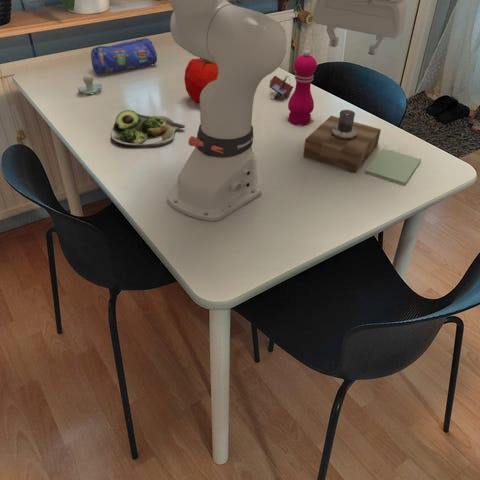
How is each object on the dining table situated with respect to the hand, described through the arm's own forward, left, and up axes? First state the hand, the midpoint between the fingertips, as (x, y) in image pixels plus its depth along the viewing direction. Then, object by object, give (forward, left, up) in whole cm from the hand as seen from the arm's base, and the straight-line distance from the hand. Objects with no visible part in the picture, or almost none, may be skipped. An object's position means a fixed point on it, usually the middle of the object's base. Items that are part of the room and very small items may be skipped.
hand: (352, 50), depth 115 cm
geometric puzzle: (+21, +27, -26) cm, 43 cm away
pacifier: (-10, +78, -26) cm, 83 cm away
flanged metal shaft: (0, -2, -26) cm, 26 cm away
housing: (0, -2, -26) cm, 26 cm away
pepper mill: (+10, +15, -26) cm, 32 cm away
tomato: (+5, +44, -26) cm, 52 cm away
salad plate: (-21, +47, -26) cm, 58 cm away
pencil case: (+10, +81, -26) cm, 86 cm away
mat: (0, -16, -26) cm, 30 cm away
